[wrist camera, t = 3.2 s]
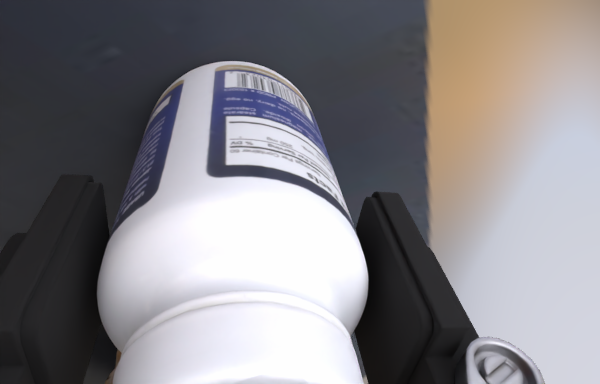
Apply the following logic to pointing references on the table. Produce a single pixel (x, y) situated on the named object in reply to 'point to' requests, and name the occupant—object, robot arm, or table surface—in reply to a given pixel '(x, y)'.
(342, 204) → the pill bottle
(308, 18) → the table surface
